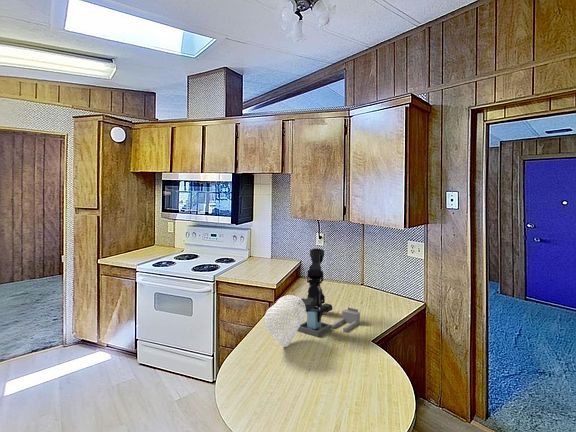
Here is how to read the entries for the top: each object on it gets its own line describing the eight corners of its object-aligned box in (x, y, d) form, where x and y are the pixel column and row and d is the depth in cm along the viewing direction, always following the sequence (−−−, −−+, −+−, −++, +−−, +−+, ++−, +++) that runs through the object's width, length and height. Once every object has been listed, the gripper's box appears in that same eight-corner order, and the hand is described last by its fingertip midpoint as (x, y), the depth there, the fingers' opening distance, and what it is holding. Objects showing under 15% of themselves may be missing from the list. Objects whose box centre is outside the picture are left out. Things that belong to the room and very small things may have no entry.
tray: (296, 331, 181) (297, 326, 181) (310, 323, 191) (310, 319, 191) (318, 337, 173) (318, 332, 173) (330, 329, 184) (330, 324, 183)
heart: (278, 333, 178) (279, 290, 177) (308, 336, 173) (308, 293, 172) (259, 357, 151) (260, 307, 150) (293, 362, 147) (294, 310, 145)
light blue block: (307, 326, 181) (307, 309, 181) (313, 323, 186) (313, 307, 186) (315, 329, 178) (315, 311, 178) (321, 325, 183) (321, 309, 183)
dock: (330, 328, 185) (330, 315, 185) (345, 319, 200) (346, 306, 199) (345, 332, 180) (346, 318, 180) (360, 322, 194) (360, 310, 194)
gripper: (291, 292, 180) (290, 321, 181) (322, 298, 169) (321, 329, 170) (303, 287, 189) (302, 315, 190) (333, 293, 178) (332, 323, 179)
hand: (314, 321), depth 182 cm, fingers closed on light blue block, 5 cm apart
